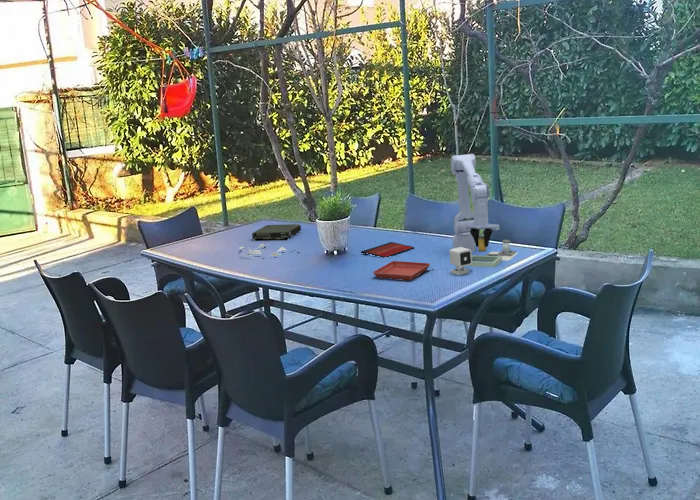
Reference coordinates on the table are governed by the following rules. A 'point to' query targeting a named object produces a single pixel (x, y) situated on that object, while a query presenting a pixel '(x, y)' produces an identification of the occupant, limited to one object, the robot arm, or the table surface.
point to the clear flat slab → (260, 251)
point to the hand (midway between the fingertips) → (482, 246)
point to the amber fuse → (481, 244)
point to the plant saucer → (401, 270)
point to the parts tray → (495, 260)
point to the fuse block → (503, 255)
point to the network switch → (276, 231)
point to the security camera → (460, 260)
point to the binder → (388, 249)
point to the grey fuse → (506, 246)
